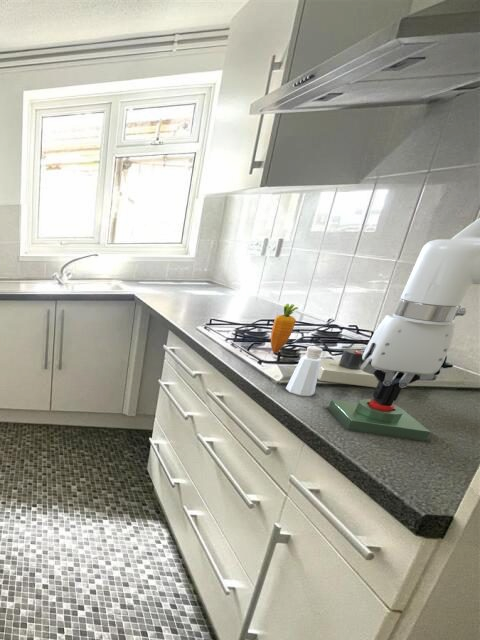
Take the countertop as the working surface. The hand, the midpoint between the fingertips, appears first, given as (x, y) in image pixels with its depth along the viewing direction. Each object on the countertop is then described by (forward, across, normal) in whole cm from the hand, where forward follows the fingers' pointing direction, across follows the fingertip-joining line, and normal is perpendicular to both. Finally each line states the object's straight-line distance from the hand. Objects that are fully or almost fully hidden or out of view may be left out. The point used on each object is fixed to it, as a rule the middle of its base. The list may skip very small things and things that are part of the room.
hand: (381, 402), depth 82 cm
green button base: (+5, 0, 0) cm, 5 cm away
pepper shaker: (+5, +9, -13) cm, 17 cm away
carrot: (+5, +7, -43) cm, 44 cm away
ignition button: (+2, 0, 0) cm, 2 cm away
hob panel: (+5, -5, -28) cm, 29 cm away
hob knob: (+2, -5, -28) cm, 29 cm away
